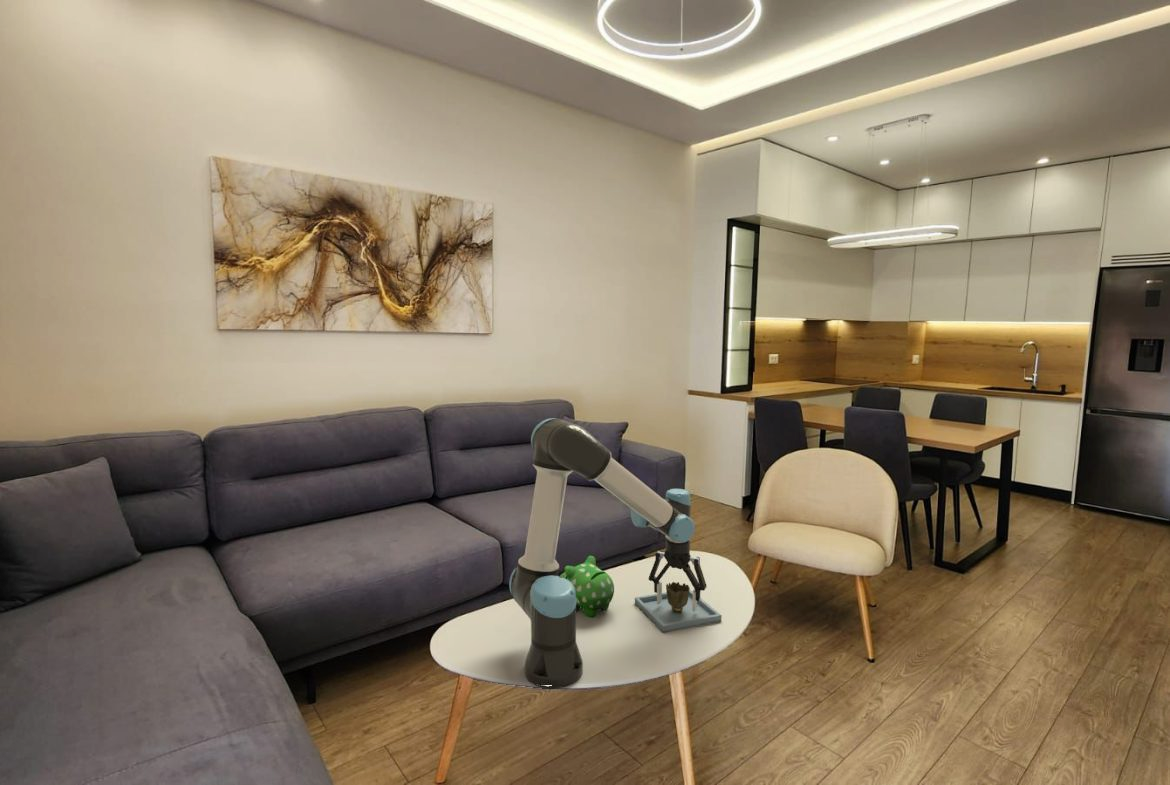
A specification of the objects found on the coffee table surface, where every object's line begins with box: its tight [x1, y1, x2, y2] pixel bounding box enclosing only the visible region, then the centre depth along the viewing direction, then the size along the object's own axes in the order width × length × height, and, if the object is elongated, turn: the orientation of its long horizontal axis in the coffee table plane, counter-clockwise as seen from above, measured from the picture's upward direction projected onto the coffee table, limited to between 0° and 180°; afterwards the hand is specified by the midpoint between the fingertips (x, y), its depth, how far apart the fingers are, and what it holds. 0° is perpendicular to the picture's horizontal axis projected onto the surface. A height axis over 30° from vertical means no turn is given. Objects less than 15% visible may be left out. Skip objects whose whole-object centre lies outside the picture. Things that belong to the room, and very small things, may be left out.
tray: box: [634, 589, 722, 633], centre depth 183 cm, size 20×20×2 cm
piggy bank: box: [559, 555, 615, 618], centre depth 185 cm, size 14×18×15 cm
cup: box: [665, 581, 691, 612], centre depth 182 cm, size 8×7×8 cm
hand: (676, 606), depth 182 cm, fingers open, 11 cm apart
